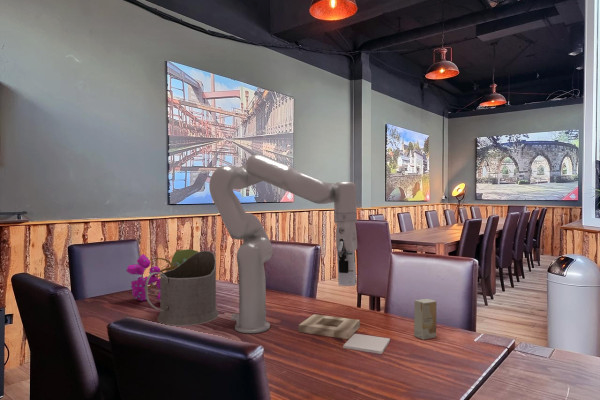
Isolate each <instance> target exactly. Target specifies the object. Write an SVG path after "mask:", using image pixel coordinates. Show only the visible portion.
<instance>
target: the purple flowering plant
mask: <svg viewBox="0 0 600 400" xmlns="http://www.w3.org/2000/svg"><path fill="white" fill-rule="evenodd" d="M197 252H199V251H198V250H194V249H189V248H188V249H178V250H176V251H175V252H174V254H173V255H172V258H171V261H169V260H168V259H167V258H164V257H154V258H151V259H149V256H148V257H147V256H146V254H144V253H142V254H141V255H139V257H138V258H137V259H136V262H137V264H129V265H128V266H127V267H126V268H125V269H126V271H125V272H127V273H128V274H130V275H138V276H139V277H137V279H136V280H135V279H134V280H132V281H131V282H130V285H131V286H130V288H131V291H132V293H131V294H132V296H133V297H134V299H135V300H138V301H140V302H145V301H147V299H146V294H145V284H146V280H147V278H148V276H144V277H142V276H141V275H144V274H145V271H146V269H148V268H149V267H150V266H151V264H152V263H153V262H156V261H157V260H162V261H165V262H166V263H167V264H166V265H164V266H162V267H159V266H158V265H155V266H152V267H150V268H149V272H148V274H149V275H150V274H151V273H154V272H158V273H164V272H167V271H170V270H173V269H175V268H176V267H178V266H179V265H181V264H182V263H183V262H185V261H186V260H187V259H188V258H190V257H191V256H193V255H194V254H196V253H197ZM168 265H169V266H168ZM166 266H168V267H166ZM160 275H161V274H153V275H152V276H151V277H150V279H149V281H148V290H149V289H155V288H158V292H159V293H158V295H157V297H156V298H157V301H160ZM154 283H155V284H156V285H153V284H154ZM151 285H152V286H151Z"/></svg>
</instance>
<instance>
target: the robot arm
mask: <svg viewBox="0 0 600 400" xmlns="http://www.w3.org/2000/svg"><path fill="white" fill-rule="evenodd" d="M261 182H265V183H268V184H270V185H273V186H275V188H279V189H282V190H283V191H286V192H288V193H291V194H293V195H294V196H297V197H299V198H302V199H304V200H307V201H309V202H310V203H311V202H312V203H314V204H317V205H323V204H331V203H332V204H334V206H333V207H334V208H333V209H334V213H333V215H334V216H333V217H334V223H336V228H335V229H336V230H335V231H336V233H335V236H336V238H335V243H336V244H335V245H336V246H335V247H336V252H337V251H338V256H339V257H338V260H339V273H348V272H349V269H348V261H347V257H348V251H349V252H350V253H351V252H352V251H353V248H352V243H353V245H354V251H355V252H356V250H357V249H358V238H357V237H358V236H357V235H358V234H357V225H356V223H357V222H358V220H357V217H358V216H357V215H358V214H357V185H356V183H355V182H353V181H338V182H335V183H333V182H325V181H322V180H319V179H317V178H314V177H312V176H310V175H307V174H305V173H302V172H300V171H298V170H296V169H295V168H294V167H292V166H291V165H288V164H285V163H284V162H280V161H278V160H276V159H273V158H271V157H269V156H266V155H263V154H260V153H257V154H256V153H255V154H252V155H250V156H249V157H248V158H247V159H246V162H245V164H244V165H241V166H234V165H221V166H219V167H217V168H216V169H215V170H214V171H213V173H212V174H211V176H210V179H209V183H208V184H209V194H210V197H211V199H212V201H213V203H214V205H215V207H216V209H217V211H218V214H220V215H219V216H220V217H221V219H222V222H223V224H224V226H225V228H226V231H227V233H228V234H229V236H230V237H231V238H232V239H234V240H240V241H241V240H243V243H242V244H241V245H239V248H238V249H237V251H236V262H237V263H236V264H237V268H238V308H239V309H238V313H232V314H231V316H230V321H235V322H236V323H235V324H234V329H235V331H237V332H239V333H243V334H259V333H263V332H267V331H268V330H269V329H270V328H271V323H270V322H269V321H267V319H266V317H267V315H266V311H267V309H266V306H267V305H266V301H267V300H266V299H267V298H266V297H267V296H266V291H267V290H266V287H267V286H266V285H267V284H266V270H265V265H264V264H265V263H266V262H268V261H269V260H270V259H271V258H272V256H273V252H274V251H273V250H274V249H273V245H272V242H271V240H270V239H269V236H268V235H267V232H266V230H265V228H264V226H263V224H262V221H260V219H259V218H258V217H257V216H256V215H255V214H253V213H251V212H246V211H245V209H244V207H243V206H242V203H241V201H240V199H239V198H238V196H237V195H236V194H235V192H234V190H242V189H246V188H248V187H251V186H253V185H256V184H258V183H261ZM343 250H346V251H343ZM344 254H345V255H344Z"/></svg>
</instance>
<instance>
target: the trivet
mask: <svg viewBox="0 0 600 400" xmlns="http://www.w3.org/2000/svg"><path fill="white" fill-rule="evenodd" d="M390 342H391V338H389V337H382V336H381V337H380V336H374V335H367V334H362V333H361V334H360V333H359V334H358V333H354V334H353V335H352V336H351V337H350V338H349V339H347V341H346V342H345V343H344V344H343V345H342V347H343V349H348V350H354V351H360V352H365V353H373V354H379V355H382V354H383V352H385V350H386V348H387V346H389V343H390Z"/></svg>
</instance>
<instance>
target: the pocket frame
mask: <svg viewBox="0 0 600 400" xmlns="http://www.w3.org/2000/svg"><path fill="white" fill-rule="evenodd" d="M360 327H361V319H356V318H354V319H353V318H347V317H339V316H338V317H337V316H333V315H332V316H330V315H322V314H315V313H314V314H312V315H311V316H309V317H307V319H305V320H303V321H302V322H301V323H299V324H298V333H303V334H304V333H305V334H311V335H319V336H324V337H331V338H337V339H342V340H349V339H350V338H351V337H352V336H353V335H354V334H356V332H357V330H358V329H360Z"/></svg>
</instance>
